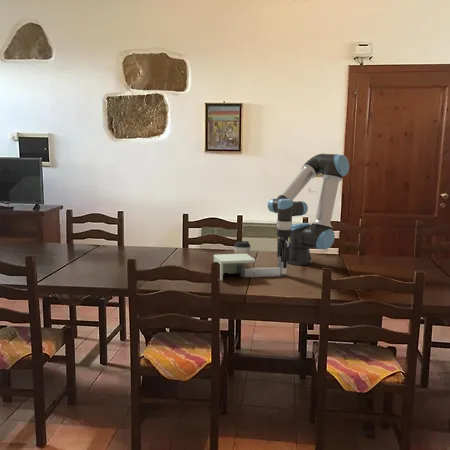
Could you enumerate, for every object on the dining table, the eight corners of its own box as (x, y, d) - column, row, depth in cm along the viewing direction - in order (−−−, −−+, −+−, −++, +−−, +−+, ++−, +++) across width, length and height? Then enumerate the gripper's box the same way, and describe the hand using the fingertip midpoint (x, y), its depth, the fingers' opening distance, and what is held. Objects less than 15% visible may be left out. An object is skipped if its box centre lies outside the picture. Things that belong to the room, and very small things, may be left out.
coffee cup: (236, 270, 278) (236, 243, 276) (231, 266, 287) (232, 240, 285) (252, 269, 281) (252, 242, 278) (246, 265, 289) (247, 239, 287)
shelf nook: (246, 272, 275) (246, 253, 274) (254, 279, 261) (255, 259, 259) (213, 273, 271) (213, 254, 269) (220, 281, 256) (220, 261, 255)
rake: (280, 271, 278) (281, 253, 276) (286, 276, 269) (287, 257, 267) (236, 272, 272) (237, 254, 270) (241, 277, 263) (242, 258, 261)
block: (248, 273, 273) (249, 263, 273) (251, 275, 269) (252, 266, 268) (239, 273, 272) (240, 264, 271) (242, 275, 267) (242, 266, 267)
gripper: (272, 226, 273) (270, 269, 277) (283, 231, 257) (281, 277, 261) (285, 226, 275) (283, 268, 279) (297, 231, 259) (294, 276, 263)
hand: (282, 272), depth 270 cm, fingers closed on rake, 3 cm apart
